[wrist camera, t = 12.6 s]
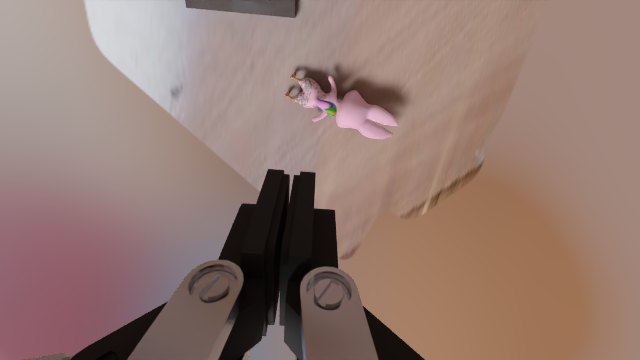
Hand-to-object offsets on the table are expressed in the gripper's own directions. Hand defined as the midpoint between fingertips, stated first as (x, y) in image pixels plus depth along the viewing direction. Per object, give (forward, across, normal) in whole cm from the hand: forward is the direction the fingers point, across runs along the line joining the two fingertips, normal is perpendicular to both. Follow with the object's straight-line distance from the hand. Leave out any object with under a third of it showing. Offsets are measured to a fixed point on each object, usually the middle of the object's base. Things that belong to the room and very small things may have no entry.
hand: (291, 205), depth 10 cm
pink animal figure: (+30, -4, +4) cm, 30 cm away
